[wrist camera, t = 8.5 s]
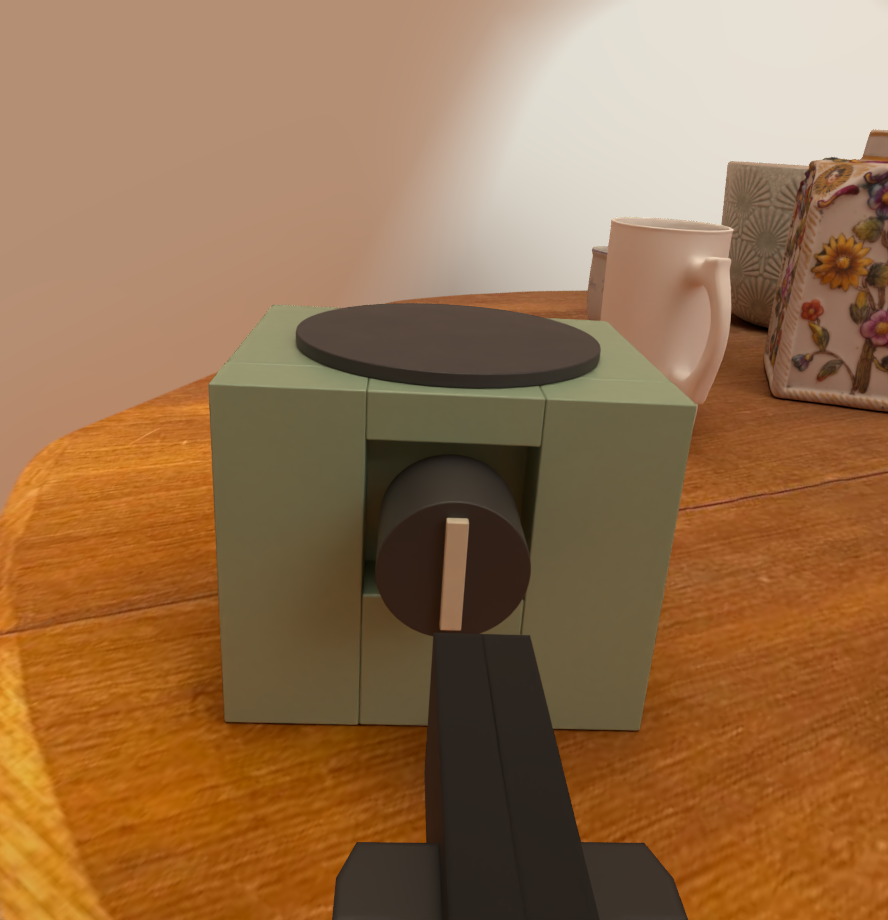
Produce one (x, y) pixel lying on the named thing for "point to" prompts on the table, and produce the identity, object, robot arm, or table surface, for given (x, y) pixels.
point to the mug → (671, 296)
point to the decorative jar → (835, 286)
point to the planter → (758, 232)
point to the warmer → (412, 439)
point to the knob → (451, 547)
